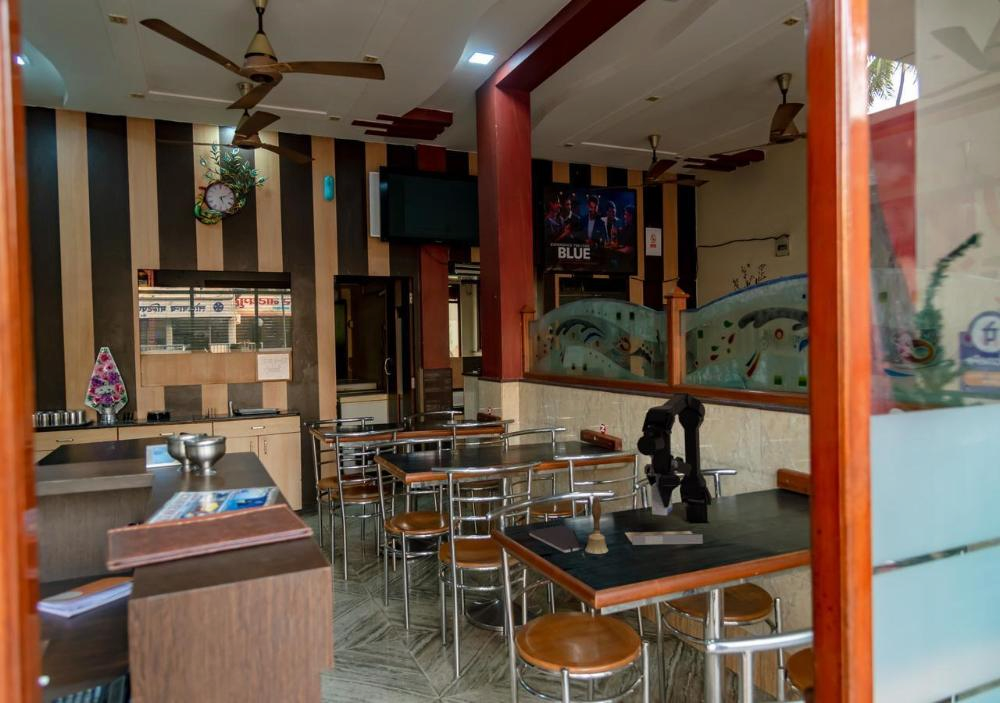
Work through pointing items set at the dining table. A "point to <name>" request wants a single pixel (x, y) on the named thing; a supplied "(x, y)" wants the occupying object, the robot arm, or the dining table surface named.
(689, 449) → the robot arm
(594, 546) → the hand bell
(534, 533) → the notebook
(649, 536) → the rail
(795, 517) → the dining table surface
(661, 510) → the medicine box
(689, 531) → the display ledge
